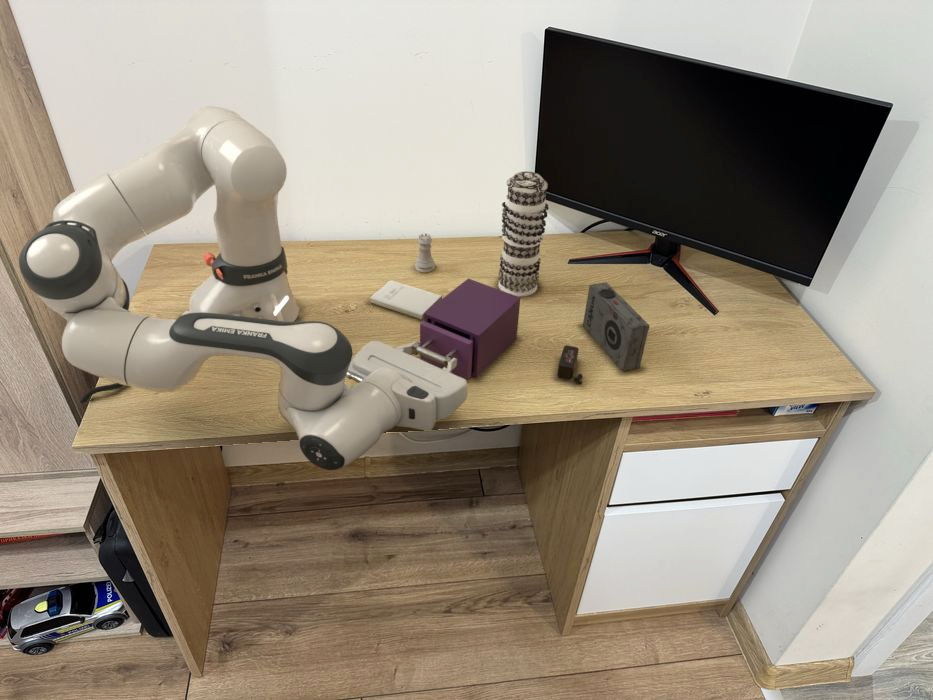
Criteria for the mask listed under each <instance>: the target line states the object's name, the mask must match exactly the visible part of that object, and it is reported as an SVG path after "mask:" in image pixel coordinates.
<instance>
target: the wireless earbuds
mask: <svg viewBox="0 0 933 700" xmlns="http://www.w3.org/2000/svg"><path fill="white" fill-rule="evenodd" d="M579 351H580V349H579V347H577V346H573V345H567V344H565V345H564V346H563V348H562V351H561V354H560V359H559V362H558V366H557V367H558V369H557V373H556V375H557V378H558V379H561V380H566V381H571V380H572V379H573V382H574V383H575V384H578V385H580V386H581V385H582V384H583V381H582V380H583V377H584V375H583V374H582V373H578V374H576V376H575V377H574V374H575V370H576V366H577V362H578V356H579ZM573 377H574V378H573Z"/></svg>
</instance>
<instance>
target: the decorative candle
mask: <svg viewBox="0 0 933 700" xmlns="http://www.w3.org/2000/svg"><path fill="white" fill-rule="evenodd" d="M548 185H549V184H548V182H547V181H546V180H545V179H544V178H543V177H542V176H541V175H540V174H539V173H536V172H533V171H519V172H516V173H515V174H514V175H512V177H509V178H508V179H507V180H506V186H507V195H506V199H505V200H506V201H503V202H502V203H501V207H503V208H502V210H501V211H502V213H501V216H502V217H501V218H502V219H501V222H502V223H503V224H502V225H501V227H502V228H501V233H502V234H501V237H502V240H503V246H502V252H501V254H500V257H499V260H500V262H499V270H498V288H499V290H501V291H504V292H506V293H509V294H512V295H514V296H517V297H520V298H521V297H527V296H531V295H532V294H535V292H536V291H537V290H538V284H539V282H538V281H539V278H540V276H539V275H540V272H539V271H540V269H541V268H540V267H541V265H540V264H541V260H542V259H541V257H540V256H541V244H542V242H543V240H544V237H543V236H544V235H543V234H545V231H546V229H545V227H546V225H547V222H546V220H545V219H547V217H548V210H549V204H548V203H547V200H546V199H547V198H546V196H547V189H548V187H549V186H548Z"/></svg>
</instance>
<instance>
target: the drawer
mask: <svg viewBox="0 0 933 700" xmlns="http://www.w3.org/2000/svg"><path fill="white" fill-rule="evenodd" d="M419 343H421V344H422V346H418V347H417V348H416V353H417V355H419V356H420V357H419V359H420V360H423V361H425V362H427V363H430V364H432V365H434V366H436V367H439V368H441V369H442V368H444V365H445V363H444V360H445V359H446V358H448V356H451V357H454V358H456V359H457V365H456V367H455V368H454V369H453V370H452V374H454V375H457V376H459V377H461V378H464V379H465V380H469V379H470V378H471V377H472V376H471V369H473V367H474V348H475V337H472V336H470V335H468V334H465V333H463V332H460V331H458V330H455V329H453V328H450V327H448V326H446V325H443V324H441V323H438V322H436V321H433V320H431V324H430V323H428V322H425V321H424V320H422V322H420V323H419Z"/></svg>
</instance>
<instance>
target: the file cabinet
mask: <svg viewBox="0 0 933 700" xmlns="http://www.w3.org/2000/svg"><path fill="white" fill-rule="evenodd" d="M520 308H521V296H514V295H512V294H509V293H506V292H504V291H501V289H498V288H495V287H493V286H490V285H488V284H484V283H482V282H479V281H476V280H474V279H472V278H469V277H468V278H467V279H466V280H464V281H463V282H462V283H460V284H459V285H457V286H456V288H454V289H453V290H451V291H450V292H449V293H448V294H446V295H445V296H443V297H442V299H441V300H440V301H439V302H438V303H436V304H435V305H434V306H432V307H431V308H430V309H429V310H427V311H426V312H425V313H424V319H423V321H425V322H428V323H430V324H431V320H433V321H436V322H438V323H441V324H443V325H446V326H448V327H450V328H453V329H455V330H458V331H460V332H463V333H465V334H468V335H470V336H472V337H475V348H474V367H473V369H471V377H472V378H475V379H478V378H479V377H480V376H481V375H482V374H483V372H485V371H486V370H487V369H488V368H489V366H492V364H493V363H494V362H495V361H496V360H497V359H498V358H499V357H500V356H501V355H503V353H504V352H505V351H506V350H507V349H508V348H509V347H510V346H511V345H512V344H513V343H515V341H516V340H517V339H518V329H519V318H520Z"/></svg>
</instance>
